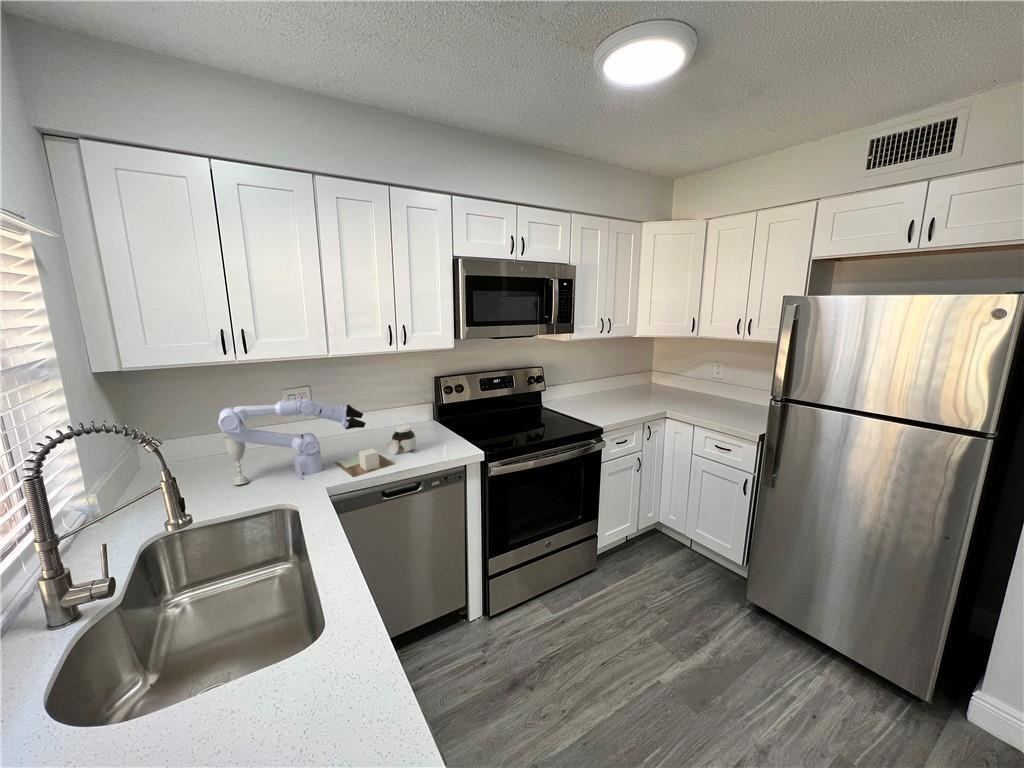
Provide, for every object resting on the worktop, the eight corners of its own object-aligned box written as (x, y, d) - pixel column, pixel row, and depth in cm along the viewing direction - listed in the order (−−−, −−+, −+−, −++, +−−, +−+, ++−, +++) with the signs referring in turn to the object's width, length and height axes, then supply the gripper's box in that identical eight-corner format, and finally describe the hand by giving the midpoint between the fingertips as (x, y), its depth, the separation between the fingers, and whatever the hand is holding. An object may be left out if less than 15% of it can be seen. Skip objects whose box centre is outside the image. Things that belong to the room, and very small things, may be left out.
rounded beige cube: (366, 470, 166) (364, 455, 164) (360, 466, 170) (358, 451, 168) (379, 466, 170) (378, 451, 168) (373, 462, 174) (371, 448, 172)
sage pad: (346, 468, 169) (346, 467, 169) (337, 462, 175) (337, 461, 175) (367, 462, 175) (367, 461, 175) (358, 456, 181) (358, 455, 181)
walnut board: (353, 479, 160) (353, 477, 160) (333, 464, 175) (333, 462, 174) (396, 466, 172) (395, 463, 172) (374, 453, 187) (373, 451, 186)
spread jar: (418, 448, 192) (416, 424, 189) (409, 458, 181) (408, 432, 178) (393, 448, 193) (391, 424, 191) (383, 457, 182) (381, 432, 180)
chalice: (229, 483, 159) (222, 437, 157) (250, 478, 163) (243, 433, 162) (231, 486, 153) (224, 438, 152) (253, 481, 157) (246, 435, 156)
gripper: (335, 413, 160) (369, 421, 168) (332, 395, 172) (364, 404, 179) (328, 428, 162) (362, 435, 169) (326, 409, 173) (358, 417, 181)
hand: (363, 420), depth 174 cm, fingers open, 7 cm apart
